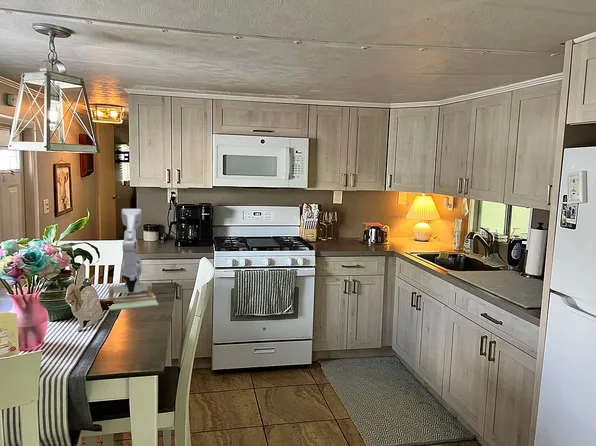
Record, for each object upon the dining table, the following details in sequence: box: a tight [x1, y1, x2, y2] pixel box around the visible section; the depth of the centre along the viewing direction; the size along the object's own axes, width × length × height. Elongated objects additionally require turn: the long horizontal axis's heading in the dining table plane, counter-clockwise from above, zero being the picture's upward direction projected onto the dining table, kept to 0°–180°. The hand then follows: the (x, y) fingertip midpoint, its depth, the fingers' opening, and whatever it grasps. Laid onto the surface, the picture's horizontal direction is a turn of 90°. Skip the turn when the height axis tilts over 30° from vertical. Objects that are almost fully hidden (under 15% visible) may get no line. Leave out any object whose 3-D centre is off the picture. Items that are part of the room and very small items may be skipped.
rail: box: [108, 282, 153, 295], centre depth 237 cm, size 20×3×3 cm, turn 117°
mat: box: [108, 299, 159, 312], centre depth 229 cm, size 8×22×1 cm, turn 117°
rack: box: [104, 285, 157, 304], centre depth 237 cm, size 7×23×6 cm, turn 117°
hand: (130, 291), depth 237 cm, fingers closed on rail, 3 cm apart
